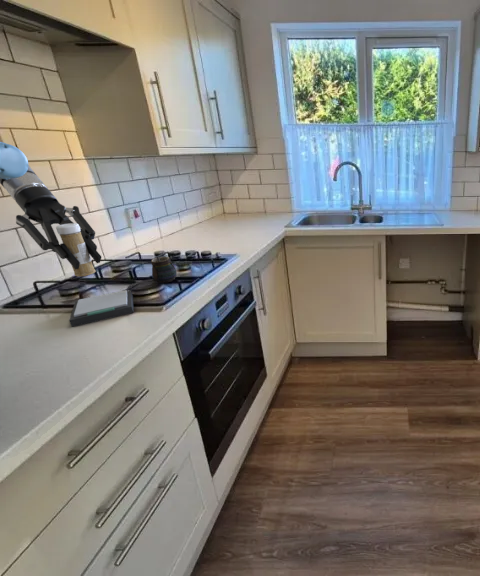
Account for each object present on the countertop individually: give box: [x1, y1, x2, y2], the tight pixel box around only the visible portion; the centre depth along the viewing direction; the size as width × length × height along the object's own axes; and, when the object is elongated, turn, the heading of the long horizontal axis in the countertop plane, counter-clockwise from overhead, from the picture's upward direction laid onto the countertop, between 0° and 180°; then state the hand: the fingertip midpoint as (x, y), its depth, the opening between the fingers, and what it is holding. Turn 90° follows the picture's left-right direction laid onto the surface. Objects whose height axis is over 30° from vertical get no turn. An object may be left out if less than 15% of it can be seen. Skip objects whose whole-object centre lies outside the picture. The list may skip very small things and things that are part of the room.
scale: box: [68, 289, 134, 328], centre depth 105 cm, size 14×14×3 cm
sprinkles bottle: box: [55, 222, 97, 277], centre depth 94 cm, size 5×5×13 cm
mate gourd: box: [150, 256, 177, 284], centre depth 123 cm, size 7×8×10 cm
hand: (88, 262), depth 94 cm, fingers closed on sprinkles bottle, 4 cm apart
